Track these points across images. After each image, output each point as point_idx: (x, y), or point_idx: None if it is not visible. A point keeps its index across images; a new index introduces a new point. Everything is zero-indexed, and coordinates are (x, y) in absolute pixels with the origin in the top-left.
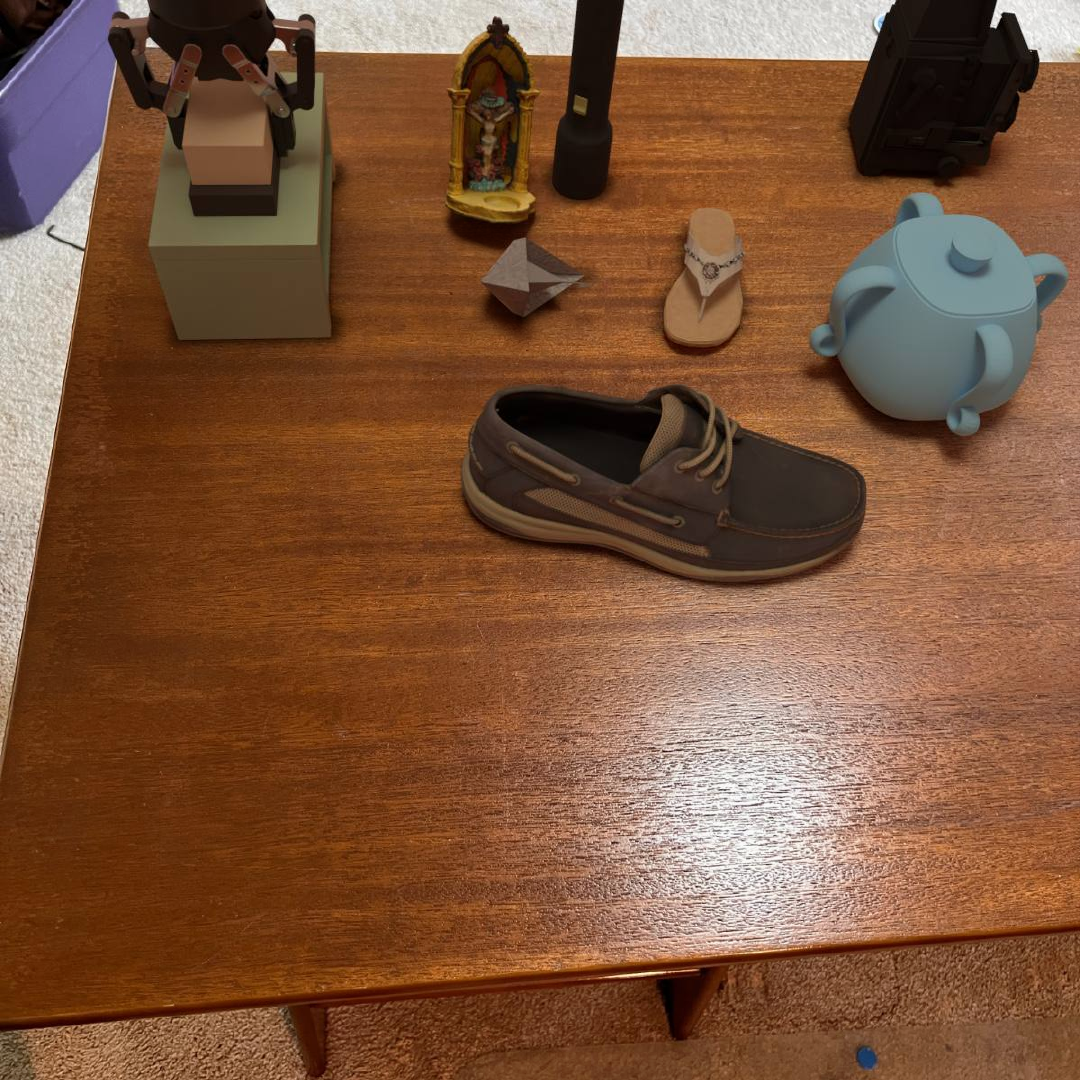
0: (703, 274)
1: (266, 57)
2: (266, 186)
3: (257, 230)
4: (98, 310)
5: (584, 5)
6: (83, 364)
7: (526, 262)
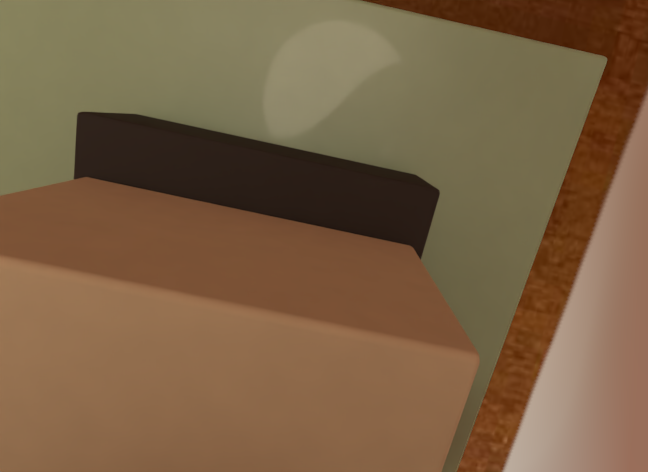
0: None
1: None
2: (102, 169)
3: (207, 48)
4: (580, 202)
5: None
6: (640, 72)
7: None
